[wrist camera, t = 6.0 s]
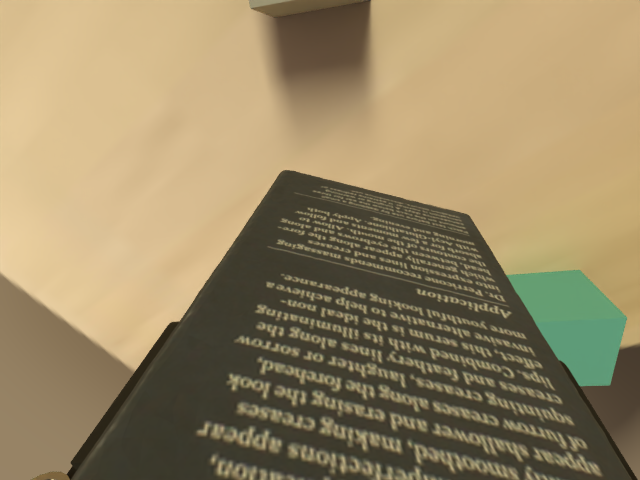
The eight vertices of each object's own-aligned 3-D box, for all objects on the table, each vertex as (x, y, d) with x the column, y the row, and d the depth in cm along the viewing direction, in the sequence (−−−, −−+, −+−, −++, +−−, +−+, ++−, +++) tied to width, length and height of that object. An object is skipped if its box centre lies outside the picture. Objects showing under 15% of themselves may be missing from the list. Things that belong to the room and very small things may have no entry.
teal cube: (578, 269, 25) (627, 317, 20) (568, 329, 27) (609, 385, 22) (498, 275, 25) (527, 322, 21) (494, 333, 28) (520, 387, 23)
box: (392, 394, 14) (439, 1054, 5) (247, 359, 14) (21, 949, 5) (476, 208, 11) (1277, 1415, 1) (280, 160, 11) (-353, 1007, 1)
